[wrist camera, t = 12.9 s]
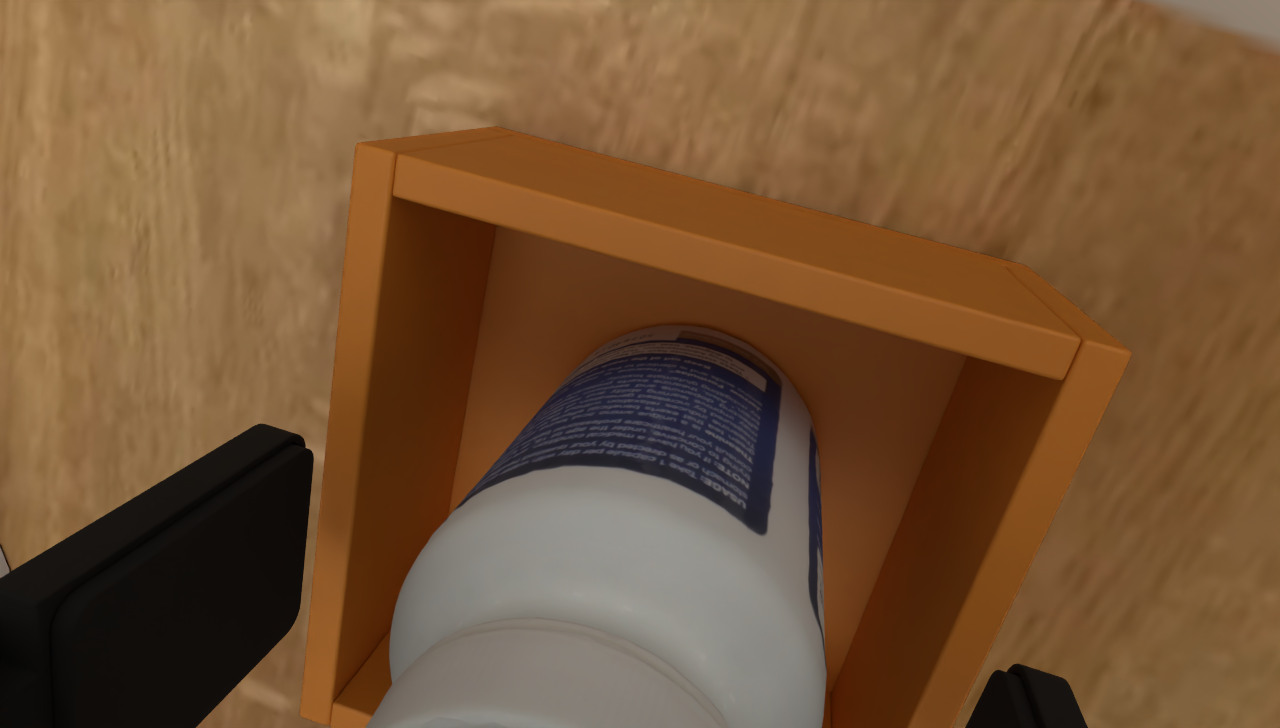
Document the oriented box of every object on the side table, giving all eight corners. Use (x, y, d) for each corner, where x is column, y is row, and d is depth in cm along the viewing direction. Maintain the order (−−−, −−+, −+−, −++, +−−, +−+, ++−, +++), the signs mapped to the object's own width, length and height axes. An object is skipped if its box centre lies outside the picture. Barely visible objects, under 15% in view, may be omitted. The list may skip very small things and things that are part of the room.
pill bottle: (502, 411, 17) (138, 789, 8) (711, 263, 15) (554, 529, 6) (658, 606, 18) (491, 1157, 8) (875, 488, 16) (959, 1032, 7)
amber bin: (1030, 266, 14) (1136, 352, 10) (848, 701, 18) (861, 920, 13) (493, 125, 16) (353, 140, 11) (425, 562, 19) (297, 717, 14)
